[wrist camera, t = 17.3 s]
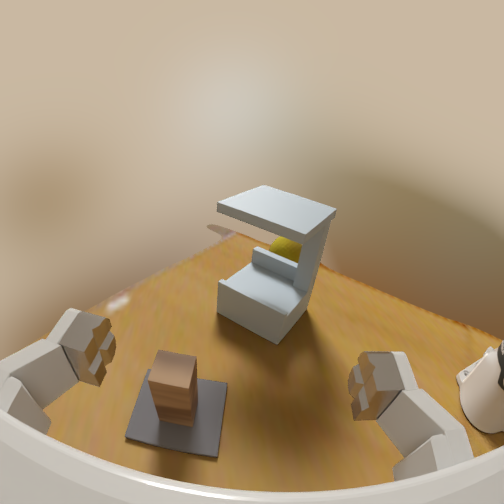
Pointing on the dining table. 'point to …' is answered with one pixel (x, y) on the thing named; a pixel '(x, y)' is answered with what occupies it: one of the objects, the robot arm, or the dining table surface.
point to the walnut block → (174, 387)
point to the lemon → (286, 249)
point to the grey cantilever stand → (274, 261)
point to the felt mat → (179, 436)
